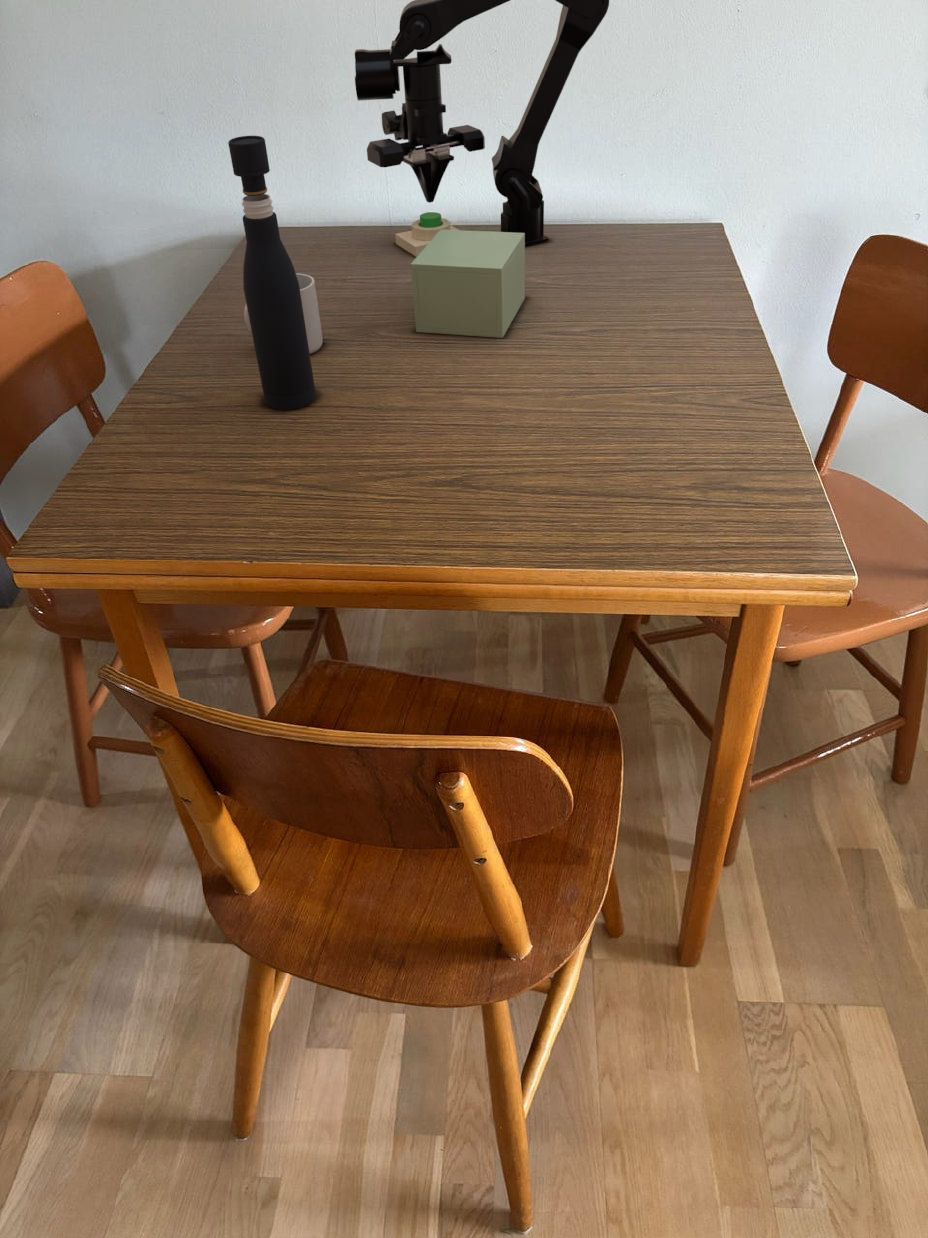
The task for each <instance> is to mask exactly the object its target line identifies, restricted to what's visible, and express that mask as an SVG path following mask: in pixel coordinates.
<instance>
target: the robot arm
mask: <svg viewBox="0 0 928 1238" xmlns="http://www.w3.org/2000/svg"><path fill="white" fill-rule="evenodd" d="M510 1H511V0H411V1H410V2H408V3H407V4H406V5H405V6H404V7H403V9H402V11H401V14H400V17H399V18H400V19H399V26H398V27H399V28H398V29H399V31H398V33H397V35H396V37H395V39H394V40H391V46H390V48H389V49H370V50H369V49H364V48H361V49H355V51H354V67H355V68H354V69H355V76H354V84H355V85H354V87H355V92H356V98H357V99H356V100H357V102H358V101H377V100H393V99H394V98H395V95H396V94H397V92H400V91H401V79H400V68H401V67H402V74H403V75H402V76H403V88H404V89H403V90H404V102H403V103H401V114H397V113H396V111H395V110H389V111H384V112H382V113H381V127H382V131H383V134H384V135H385V136H387V135H393V136H394V139H391V138H384V139H377V140H371V141H369V143H368V145H367V147H366V153H367V155H366V156H367V157H366V158H367V161H368V162H370V163H372V164H374V165H376V166H377V167H379V168H390V167H395V166H400V165H401V164H402V163H405V164H406V165H409V166H410V168H411V169H412V171H413V173H414V174H415V177H416V179H417V181H418V183H419V186H420V189H421V192H422V194H423V197H424V199H425V201H426V202H427V203H429V204H430V203H433V202H434V201H435V198H436V197H437V196H436V195H437V193H438V190H439V187H440V184H441V181H442V179H443V176H444V174H445V173H446V170H447V168H448V166H449V164H450V162H453V161H454V160H455V155H452V154H451V149H452V148H457V147H462V146H463V148H464V149H465V150H466V151H467V152H469V153H470V152H476V151H481V150H485V148H486V143H485V142H486V140H485V139H486V138H485V134H484V132H483V131H482V130H481V129H480V128H477V127H474V126H472V125H469V124H465V125H459V126H452V127H449V128H448V131H447V133H446V132H444V119H443V117H444V116H443V114H444V113H446V112H447V106H446V104H444V103H443V102H442V100H443V98H442V79H441V78H442V77H441V65H450V64H452V63H453V59H452V55H451V54H450V53H448V51H446V50H445V48H444V47H443V44H442V43H439V44H438V45H437V46H436V48H435V49H434V50H427V49H428V48H429V47H431V46H433V45H434V44H435V43H437V42H438V41H440V40H441V39H443V38H444V37H445V36H446V35H448V34H449V33H450V32H452V31H453V30H454V29H456V27H458V26H459V25H461V24H462V23H463V22H465V21H468V20H471V19H472V18H474V17H477V16H480V15H481V14H484V13H486V12H488V11H490V10H492V9H494V8H497V7H499V6H501V5H504V4H506V3H508V2H510ZM554 1H555V2H556V3H558V4H560V5H562V7H561V10H560V15H559V20H558V26H557V31H556V36H555V39H554V42H553V44H552V47H551V49H550V51H549V54H548V56H547V58H546V60H545V63H544V65H543V68H542V70H541V72H540V74H539V77H538V80H537V82H536V84H535V85H534V89H533V91H532V94H531V96H530V98H529V100H528V103H527V105H526V107H525V110H524V112H523V115H522V116H521V119H520V122H519V124H518V126H517V128H516V130H515V131H514V133H513V134H512V135H511V136H510V138H507V137H506V136H504V135H501V137H500V140H499V144H498V148H497V151H496V152H495V153H494V155H493V156H492V157H491V163H492V174H493V175H492V176H493V180H494V185H495V188H496V190H497V192H498V193H499V194H500V195H501V196H503V198H506V199H507V201H504V202H502V212H501V213H500V232H513V233H525V247H527V246H531V245H535V244H539V243H544V242H549V240H550V239H549V238H550V237H549V236H547V235H545V227H544V226H545V200H543V199H544V195H543V192H542V188H541V185H540V183H539V180H538V179H537V178H536V177H535V176H534V175H533V172H534V169H535V165H536V160H537V155H538V150H539V149H538V148H539V144H540V141H541V139H542V137H543V135H544V132H545V131H546V128H547V126H548V123H549V121H550V119H551V117H552V114H553V112H554V110H555V108H556V106H557V103H558V101H559V99H560V97H561V94H562V92H563V89H564V88H565V85H566V83H567V81H568V78H569V76H570V74H571V71H572V69H573V67H574V65H575V62H576V60H577V58H578V56H579V54H580V52H581V50H582V49H583V48H584V46H585V45H586V44H587V43H588V41H589V40H590V39H591V38H592V36H593V35H594V34H595V32H596V30H597V29H598V28H599V26H600V24H601V23H602V21H603V20H604V18H605V16H606V15H607V13H608V10H609V7H610V0H554ZM414 51H416V57H411V58H407V57H408V56H409V55H411V54H412V52H414ZM401 140H403V141H406V140H407V141H406V142H401V143H400V142H397V141H401Z"/></svg>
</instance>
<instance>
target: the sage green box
mask: <svg viewBox="0 0 928 1238" xmlns="http://www.w3.org/2000/svg"><path fill="white" fill-rule="evenodd" d="M525 262H526V246H525V233H513V232H501V231H487V230H464V229H458V230H443V229H441V230H440V231H439V232H438V233H437V234H436V235H435V237H434V238H433V239H432V240H431V241H430V242H429V244H428V245H427V246H426V247H425V248H424V249H423V251H422V252H421V253H420V254H419V255H418V256H417V257H415V258H414V260H413V261H412V262H411V263H410V270H411V271H410V272H411V283H412V297H413V311H414V323H415V332H416V333H426V334H437V335H438V334H439V335H454V336H455V335H456V336H468V337H469V336H470V337H483V338H484V337H485V338H486V337H487V338H497V339H503V338H504V336H505V334H506V333H507V331H508V329H509V327H510V326H511V324H512V322H513V320H514V319H515V317H516V315H517V313H518V312H519V309H520V308H521V306H522V304H523V303H524V301H525V299H526V263H525Z"/></svg>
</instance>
